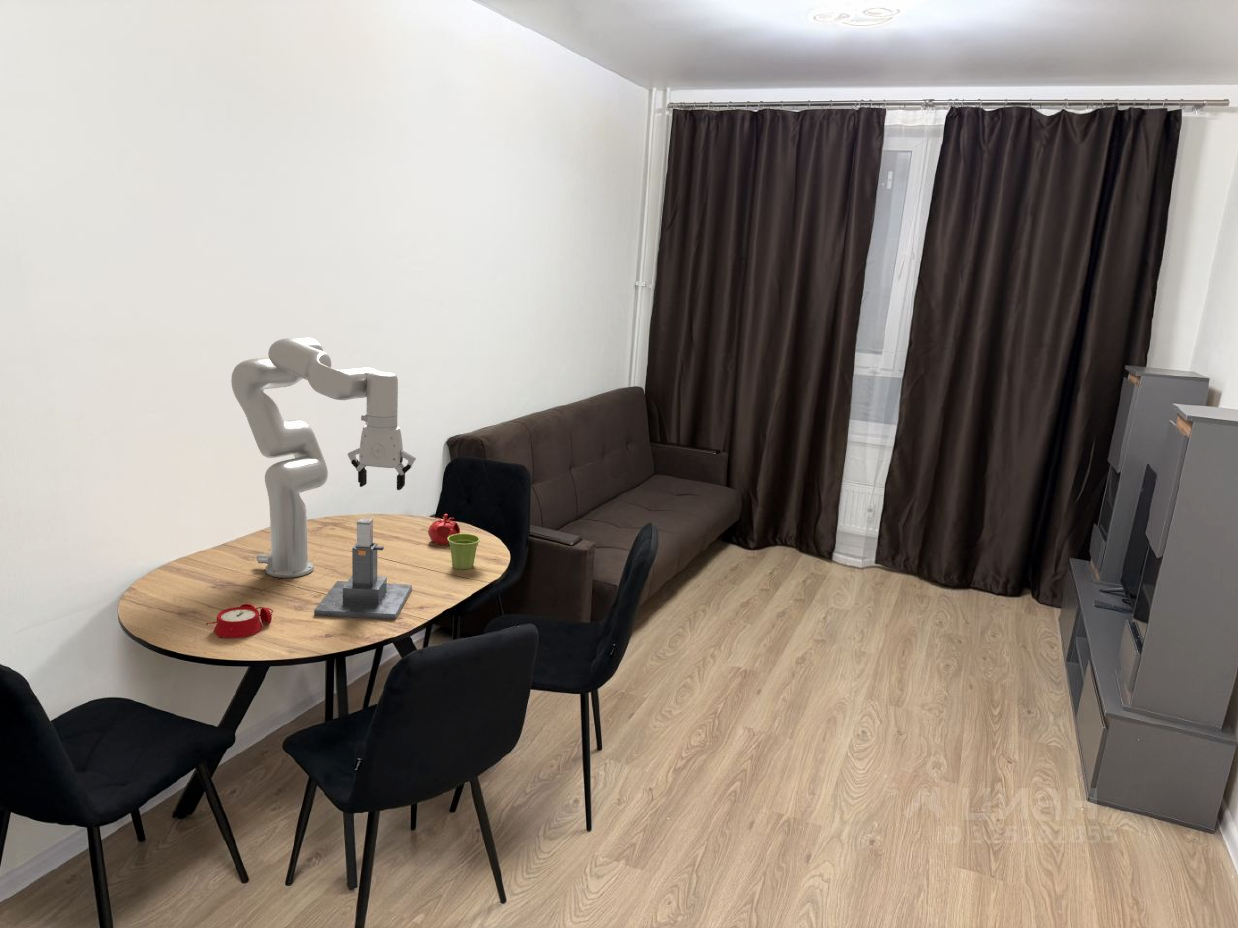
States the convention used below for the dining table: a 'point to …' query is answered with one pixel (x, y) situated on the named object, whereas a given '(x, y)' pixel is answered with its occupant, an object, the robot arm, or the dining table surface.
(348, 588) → the charcoal stand
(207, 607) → the dining table surface
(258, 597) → the dining table surface
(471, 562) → the plant pot
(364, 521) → the steel post
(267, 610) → the alarm clock
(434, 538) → the pomegranate
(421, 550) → the dining table surface
